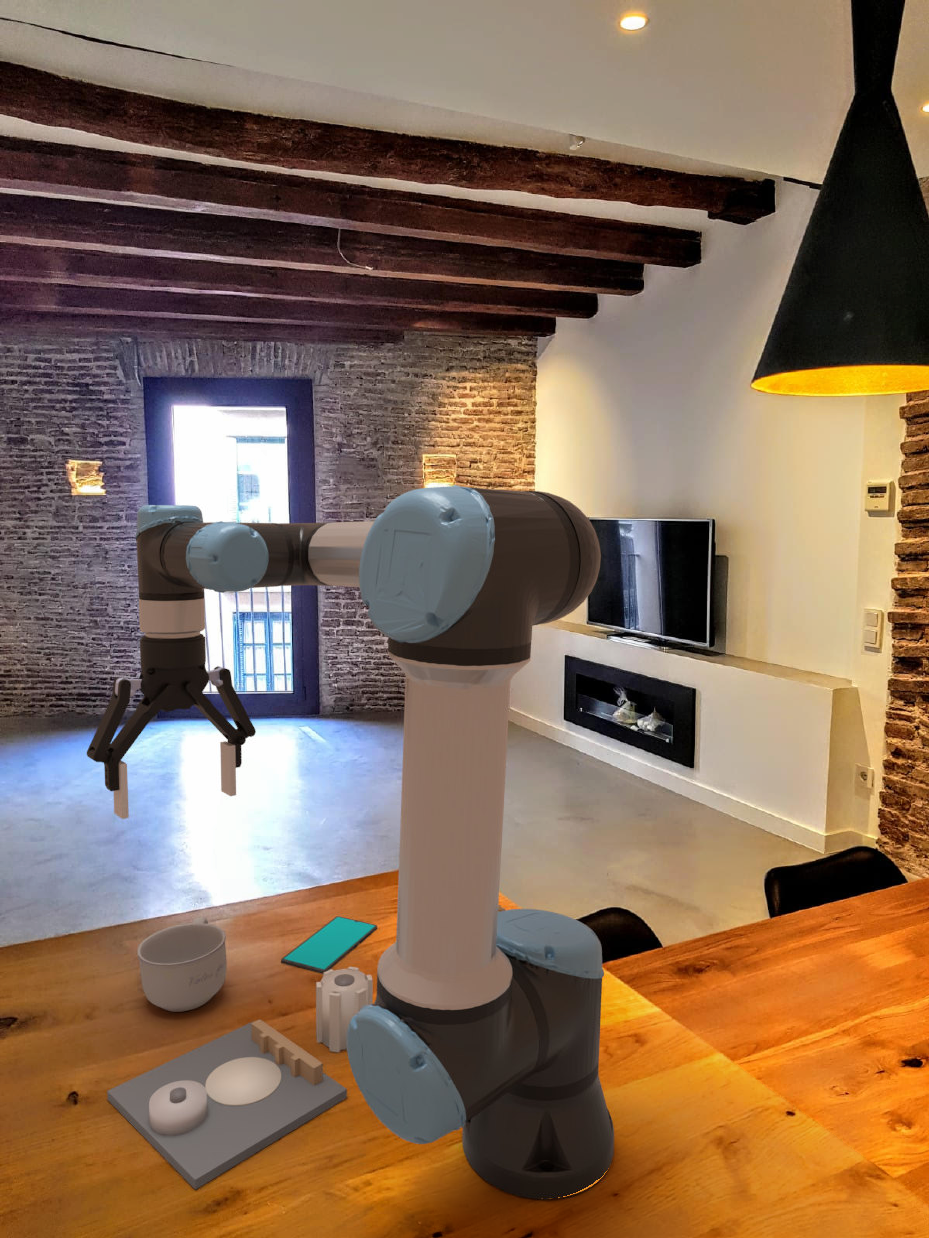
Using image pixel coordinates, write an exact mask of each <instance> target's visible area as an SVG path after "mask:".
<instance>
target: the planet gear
mask: <svg viewBox="0 0 929 1238" xmlns="http://www.w3.org/2000/svg"><path fill="white" fill-rule="evenodd" d="M322 976H323V977H322V978H321V980H320V981H316V982H315V1011H316V1012H315V1020H316V1022H315V1025H316V1027H315V1029H316V1032H315V1034H316V1036H315V1037H316V1041H317V1044H320V1043H323V1045H324V1046H326V1047H327V1048H328V1049H329V1052H334V1053H340V1052H341V1051H347V1045H346V1036H347V1029H348V1025H349V1023H350V1021H351V1019H352V1018H353V1017H354V1016H355V1015H356V1014H357V1013H358V1012H359V1010H360V1009H361V1008H362V1007H363V1006H365V1005H372V1004H373V995H374V994H373V993H374V992H373V989H374V988H373V984H374V983H373V981H374V980H373V977H372V975H371V974H367V975H366V974H365V973H364V972H362V971H360V968H359V967H354V966H348V968H340V969H336V970H334V969H332V968H331V969H330V970H328V971H326V972H324V973H323V974H322Z"/></svg>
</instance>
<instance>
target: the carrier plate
mask: <svg viewBox="0 0 929 1238" xmlns="http://www.w3.org/2000/svg"><path fill="white" fill-rule="evenodd" d="M323 1065H324V1064H323V1062H322V1061H321V1060H318V1058H316V1057H314V1056H313V1055H312V1054H311V1053H308V1051H306V1050H305V1049H303V1048H301V1047H300V1046H299V1045H297V1044H296V1043H294V1042H293V1041H291V1040H290V1039H289V1038H287V1037H286V1036H284V1035H283V1034H282V1033H280V1032H279V1031H277V1030H276V1029H275V1028H273V1027H272V1026H270V1025H269V1024H268V1023H266V1022H264V1020H261V1019H260V1018H259V1019H256V1020H255V1021H251V1022H249V1023H247V1024H245V1025H243V1026H241V1027H239V1028H236V1029H234V1030H232V1031H230V1032H228V1033H226V1034H224V1035H222V1036H219V1037H218V1038H215V1039H213V1040H211V1041H209V1042H207V1043H205V1044H203V1045H200V1046H199V1047H198V1046H197V1048H195V1049H194V1048H193V1049H192V1050H191V1051H188V1052H186V1053H184V1054H182V1055H180V1056H178V1057H176V1058H173V1059H171V1060H169V1061H167V1062H165V1063H163V1064H161V1065H159V1066H157V1067H154V1068H152V1069H150V1070H148V1071H146V1072H144V1073H142V1074H140V1075H138V1076H136V1077H133V1078H132V1079H129V1080H128V1081H125V1082H123V1083H121V1084H118V1085H117V1086H115V1087H113V1088H111V1089H110V1088H109V1090H107V1092H106V1094H107V1095H106V1096H107V1098H106V1099H107V1101H108V1102H109V1103H110V1104H111V1105H112V1106H113V1107H114V1108H115V1109H116V1110H117V1111H118V1112H119V1113H120V1114H121V1115H122V1117H124V1118H125V1119H126V1120H127V1121H128V1123H130V1124H131V1125H132V1127H133V1128H134V1129H135V1130H137V1132H138V1133H139V1134H140V1135H142V1136H143V1137H144V1139H145V1140H146V1141H147V1142H148V1143H149V1144H150V1145H151V1146H152V1147H153V1148H154V1149H155V1150H156V1151H157V1152H158V1153H159V1154H160V1155H161V1157H162V1158H164V1160H165V1161H167V1162H168V1164H169V1165H170V1166H172V1168H174V1170H175V1171H177V1173H178V1174H179V1175H180V1176H181V1177H182V1178H183V1179H184V1180H185V1181H186V1182H187V1184H189V1185H190V1186H191V1187H192V1188H193V1189H194V1190H198V1189H199V1188H201V1187H202V1186H204V1185H206V1184H207V1183H209V1182H211V1181H213V1180H214V1179H216V1178H217V1177H218V1176H220V1175H223V1174H224V1173H225V1172H227V1171H228V1170H230V1169H232V1168H234V1167H235V1166H237V1165H238V1164H240V1163H242V1162H243V1161H246V1160H247V1159H249V1158H250V1157H251V1156H254V1155H255V1154H257V1153H259V1152H260V1151H262V1150H263V1149H265V1148H267V1147H268V1146H270V1145H272V1144H273V1143H274V1142H277V1141H278V1140H279V1139H282V1138H283V1137H284V1136H286V1135H288V1134H289V1133H291V1132H293V1131H295V1130H296V1129H298V1128H300V1127H301V1126H303V1125H304V1124H306V1123H308V1122H309V1121H311V1120H312V1119H314V1118H316V1117H318V1116H320V1115H322V1114H323V1113H324V1112H325V1111H327V1110H329V1109H331V1108H332V1107H335V1106H336V1105H337V1104H339V1103H340V1102H342V1101H344V1100H345V1099H347V1098H348V1089H347V1088H346V1087H344V1086H343V1085H341V1084H340V1083H339V1082H338V1081H336V1080H335V1079H333V1078H332V1077H331V1076H329V1075H327V1074H326V1073H324V1071H323V1070H324V1066H323Z"/></svg>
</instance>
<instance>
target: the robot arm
mask: <svg viewBox="0 0 929 1238" xmlns="http://www.w3.org/2000/svg"><path fill="white" fill-rule="evenodd" d="M202 512H203V511H202V510H201V509H200V507H198V506H197V505H179V504H178V505H177V504H157V505H156V504H145V505H142V506H140V508H139V509H138V511H137V513H136V515H137V516H136V533H135V535H134V536H135V541H136V559H137V580H138V583H137V584H138V611H139V612H138V614H139V615H138V617H139V631H140V632H142V633H143V634H144V635H142V636H141V638H140V639H139V654H140V655H139V656H140V658H139V659H140V675H139V676H138V678H124V677H120V676H117V677H115V678H114V679H113V681H112V683H113V684H112V694H111V697H110V700H109V702H108V704H107V705H106V706H107V707H106V709H105V711H104V713H103V715H102V718H101V720H100V722H99V723H98V724H99V725H98V726H97V728H96V730H95V733H94V734H93V737H92V739H91V742H90V744H89V746H88V748H87V751H86V756H87V757H88V758H89V759H90V760H93V762H95V763H103V764H104V765H103V766H104V769H103V770H104V786H105V787H106V789H107V790H109V792H113V813H114V814H115V816H117V817H118V818H120V819H121V820H125V819H129V818H130V817H129V793H128V792H129V787H128V786H129V784H128V783H129V782H128V781H129V780H128V764H127V763H126V762H124V761H123V760H122V759H123V758H124V756H125V755H126V754H127V753H128V751H129V750H130V748H131V747H132V745H133V744H134V743H135V742H136V740H137V739H138V738H139V736H140V735H141V734H142V732H143V731H144V730H145V728H146V727H147V725H148V724H149V723H150V721H151V720H152V719H153V718H155V717H156V716H157V715H158V714H159V712H160V711H162V712H164V713H169V712H173V711H175V710H190V709H191V707H193V706H194V707H195V708H196V709H197V710H198V711H199V712H200V713H202V715H203V716H204V717H205V718H206V719H207V720H208V721H209V722H210V723H211V725H213V726H214V727H215V728H216V730H217V731H218V732H220V734H221V735H222V736H223V737H224V738H225V739H226V740H227V741H226V740H225V741H220V742H219V743H220V745H219V746H220V748H219V749H220V783H221V784H220V786H221V787H220V788H221V789H220V791H221V792H222V793H224V794H225V795H227V796H229V797H233V796H237V776H236V775H237V773H236V772H237V770H236V769H238V768H241V766H242V756H243V755H242V746H243V745H245V743H246V740H247V739H248V738H249V737H251V738H252V737H254V736H255V735H256V733H257V732H256V731H257V730H256V728H255V726H254V725H253V723H252V720H251V718H250V717H249V715H248V712H247V711H246V709H245V707H244V705H243V703H242V701H241V700H240V697H239V695H238V694H237V692H236V690H235V688H234V686H233V682H232V673H231V672H232V671H231V670H230V669H229V668H224V667H222V666H219V665H217V666H215V667H214V668H213V669H212V670H207V669H206V660H207V654H206V637H205V635H204V634H203V633H201V632H202V631H204V630H205V629H206V616H205V615H206V611H205V610H206V609H205V605H206V604H205V590H209V591H210V590H212V591H214V592H216V593H222V594H223V593H227V592H228V593H229V592H230V593H238V592H239V593H240V592H244V591H247V590H250V589H255V588H256V589H257V588H259V589H260V588H270V587H271V588H273V587H287V586H292V587H293V586H326V587H333V586H334V587H348V588H350V587H351V588H359V590H360V597H361V601H362V604H363V605H365V606H368V609H367V613H366V615H367V617H368V618H369V620H370V621H371V623H372V624H373V626H374V627H375V628H376V629H377V630H378V631H379V632H380V633H382V634H383V635H384V636H385V637H387V638H388V639H387V656H389V658H390V659H392V661H393V662H395V664H396V665H397V666H398V667H399V668H400V669H401V671H402V672H403V673H404V675H405V685H404V686H405V688H404V710H403V711H404V712H403V713H404V716H403V717H404V718H403V743H402V745H403V747H402V766H401V767H402V772H401V773H402V776H401V797H400V799H401V801H400V803H401V804H400V827H399V828H400V829H399V852H398V853H399V854H398V881H397V882H398V883H397V885H398V888H397V911H396V938H395V939H396V940H395V942H394V943H393V944H391V945H390V946H389V947H387V948H386V949H385V950H384V952H383V953H382V954H381V956H380V958H379V960H378V962H377V968H376V969H377V970H376V975H377V977H376V997H375V1000H374V1002H372V1005H365V1006H363V1007H362V1008H361V1009H360V1010H359V1012H358V1013H357V1014H356V1015H355V1016H354V1017H353V1018H352V1019H351V1021H350V1023H349V1025H348V1029H347V1036H346V1045H347V1050H346V1052H347V1057H348V1063H349V1066H350V1069H351V1073H352V1076H353V1078H354V1080H355V1083H356V1085H357V1087H358V1089H359V1091H360V1093H361V1095H362V1096H363V1098H364V1100H365V1102H366V1104H367V1105H368V1107H369V1108H370V1110H371V1112H372V1113H373V1114H374V1116H376V1118H377V1119H378V1120H379V1121H380V1122H381V1123H382V1124H383V1125H384V1126H385V1128H387V1129H389V1131H390V1132H392V1133H393V1134H394V1135H396V1136H397V1137H398V1138H400V1139H402V1140H404V1141H406V1142H409V1143H413V1144H415V1145H416V1144H418V1145H426V1144H430V1143H433V1142H436V1141H438V1140H440V1139H441V1138H442V1137H444V1136H446V1135H448V1134H450V1133H452V1132H454V1131H459V1130H460V1129H461V1128H462V1133H461V1134H462V1149H463V1153H464V1156H465V1158H466V1160H467V1162H468V1163H469V1165H470V1166H471V1167H472V1169H473V1170H474V1172H476V1174H478V1175H479V1176H480V1177H481V1178H482V1179H483V1180H484V1181H486V1182H487V1183H489V1184H490V1185H491V1186H493V1187H495V1188H497V1189H499V1190H501V1191H503V1192H504V1193H505V1192H506V1193H508V1194H511V1195H514V1196H518V1197H521V1198H525V1197H526V1198H527V1199H532V1198H534V1200H550V1199H549V1198H558V1197H563V1196H567V1195H570V1194H573V1193H576V1192H578V1191H580V1190H582V1189H584V1188H586V1187H588V1186H589V1185H591V1184H593V1183H594V1182H595V1181H596V1180H598V1179H600V1178H601V1177H602V1176H603V1175H604V1173H605V1172H606V1171H607V1170H608V1168H609V1166H610V1164H611V1165H612V1163H611V1161H612V1162H613V1160H612V1158H614V1152H615V1151H614V1149H615V1148H614V1145H615V1143H614V1142H615V1129H614V1124H613V1118H612V1116H611V1114H610V1113H611V1112H610V1111H609V1109H608V1106H607V1103H606V1099H605V1095H604V1090H603V1087H602V1083H601V1081H600V1075H599V1066H600V1065H599V1060H600V1058H599V1057H600V1042H601V1041H600V1039H601V1015H602V992H603V991H602V988H603V978H604V976H605V971H604V968H603V955H602V954H603V950H602V949H603V948H602V944H601V940H600V939H599V938H598V937H599V936H597V934H596V933H595V932H594V931H593V929H591V928H590V927H589V926H588V925H586V924H584V923H583V922H581V921H579V920H577V919H575V918H572V917H570V916H567V915H565V914H562V913H558V912H553V911H548V910H543V909H535V908H533V909H532V908H515V909H514V908H512V909H505V911H501V912H498V905H499V901H500V899H499V898H500V880H501V862H502V860H501V859H502V846H503V845H502V844H503V843H502V842H503V828H504V827H503V824H504V808H505V807H504V806H505V789H506V786H505V785H506V771H507V770H506V768H507V750H508V749H507V748H508V731H509V713H510V695H511V694H510V693H511V680H512V679H513V678H514V676H515V675H516V674H517V673H518V672H520V671H521V670H522V669H523V668H524V667H525V666H526V665H527V664H528V663H529V662H530V661H531V658H532V657H531V656H532V655H531V651H532V640H533V639H532V638H533V626H538V625H543V624H544V625H545V624H549V623H552V622H555V621H559V620H560V619H563V618H565V617H567V616H568V615H569V614H571V613H573V612H575V610H576V609H578V608H579V607H580V606H581V605H582V604H583V603H584V602H585V601H586V600H587V599H588V597H589V596H590V594H591V593H592V591H593V589H594V587H595V585H596V583H597V580H598V578H599V577H598V576H599V573H600V568H601V558H602V555H601V546H600V542H599V538H598V536H597V532H596V530H595V527H594V526H593V524H592V522H591V521H590V519H589V518H588V516H587V515H585V513H583V511H582V510H581V509H580V508H579V507H578V506H576V505H575V504H573V503H572V501H569V500H568V499H565V498H564V497H562V496H558V495H556V494H552V493H550V492H546V491H538V490H514V489H511V490H509V489H496V488H495V489H494V488H493V489H492V488H483V487H467V486H460V485H457V484H454V485H452V486H435V487H434V486H433V487H423V488H417V489H411V490H409V491H407V492H404V493H402V494H400V495H398V496H397V497H395V498H394V499H393V500H392V501H391V502H390V503H388V504H387V505H386V507H385V509H384V511H383V512H382V513H380V514H379V515H378V516H377V517H376V518H375V520H373V521H372V520H370V521H368V520H367V521H344V522H343V521H341V522H339V521H338V522H326V521H325V522H298V523H297V522H296V523H295V522H291V523H284V522H283V523H280V522H279V523H277V522H235V521H215V522H213V521H212V522H204V518H203V513H202ZM209 682H210V684H211V685H212V686H214V687H215V688H216V690H217V692H218V694H219V696H220V699H221V700H222V702H223V703H224V705H225V707H226V710H227V711H228V714H229V716H230V717H231V719H232V721H233V723H234V725H235V726H236V728H235V727H234V726H233V724H231V723H230V721H229V720H228V718H226V717H225V716H224V715H223V714H222V713H221V712H220V711H219V710H218V709H217V707H216V706H215V705H213V703H212V701H211V700H210V699H209V698H208V697H207V696H206V694H205V693H203V692H204V690H205V689H206V687H207V685H208V684H209ZM137 690H139V691H140V692H141V693H142V694H143V695H144V696H143V697H142V699H141V700H140V701H139V702H138V704H137V705H136V709H135V711H134V712H133V713H132V715H131V716H130V717H129V719H128V720H127V721H126V723H125V724H124V725H123V727H122V728H121V730H120V731H118V727H119V726H120V723H121V721H122V720H123V717H124V715H125V712H126V710H127V708H128V706H129V703H130V698H132V697H134V695H135V693H136V691H137ZM117 731H118V733H117V734H116V732H117ZM115 734H116V736H115ZM114 737H115V738H114ZM610 1167H611V1166H610ZM609 1169H610V1168H609ZM608 1171H609V1170H608ZM526 1198H525V1199H526ZM541 1198H543V1199H541Z"/></svg>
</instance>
